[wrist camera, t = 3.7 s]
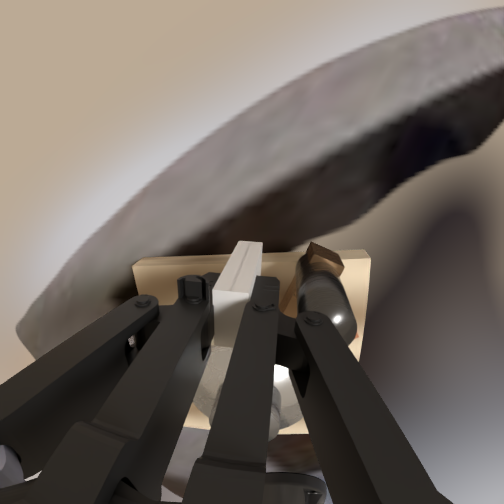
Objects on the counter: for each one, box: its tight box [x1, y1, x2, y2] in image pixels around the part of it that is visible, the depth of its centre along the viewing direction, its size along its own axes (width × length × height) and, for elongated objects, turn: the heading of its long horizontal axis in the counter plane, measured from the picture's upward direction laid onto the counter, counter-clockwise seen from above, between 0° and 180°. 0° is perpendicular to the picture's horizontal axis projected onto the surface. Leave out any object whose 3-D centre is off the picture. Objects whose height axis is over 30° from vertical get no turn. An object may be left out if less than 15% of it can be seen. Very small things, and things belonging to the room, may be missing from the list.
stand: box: [132, 249, 371, 434], centre depth 24 cm, size 20×18×2 cm
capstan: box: [193, 242, 357, 441], centre depth 18 cm, size 18×10×8 cm, turn 158°
